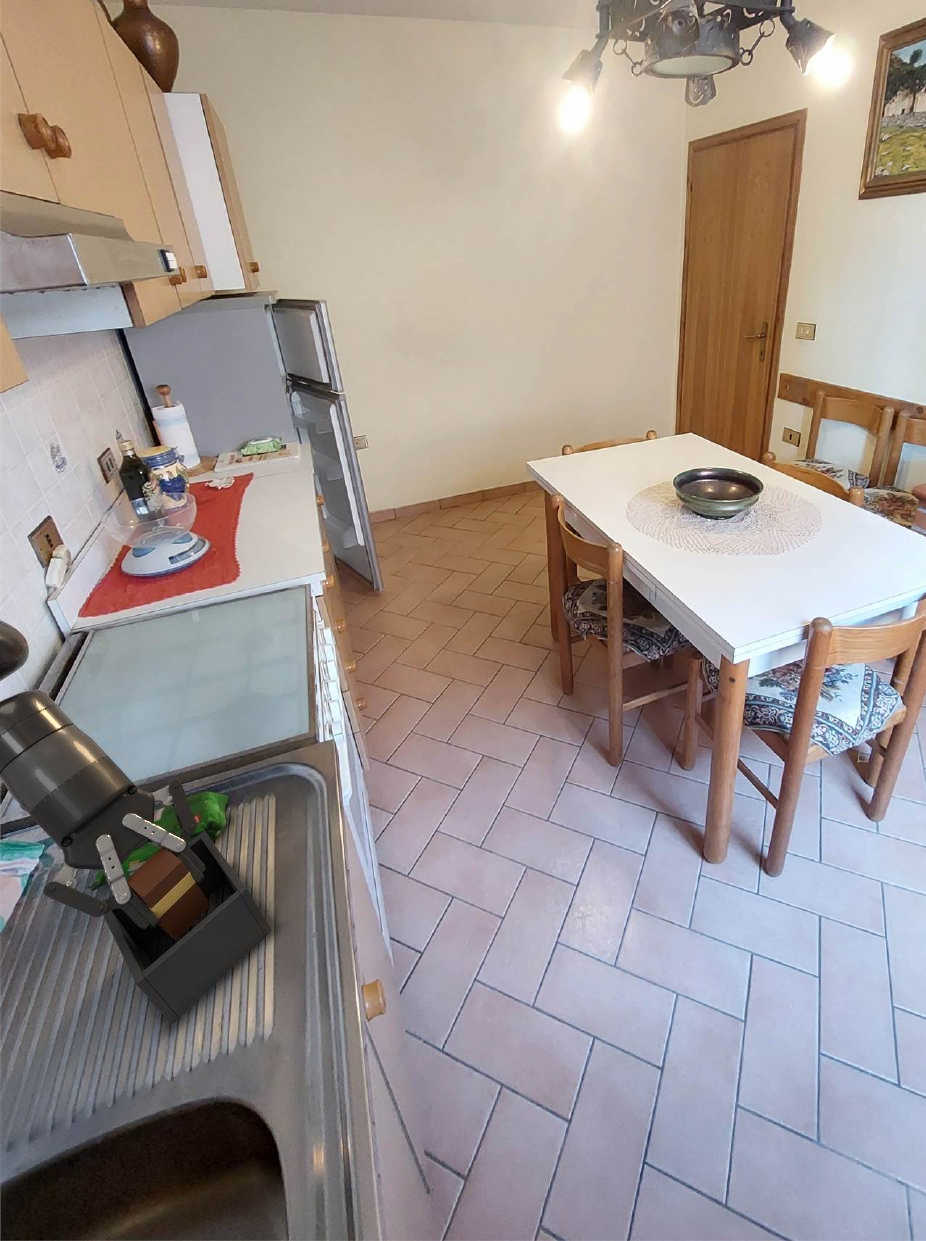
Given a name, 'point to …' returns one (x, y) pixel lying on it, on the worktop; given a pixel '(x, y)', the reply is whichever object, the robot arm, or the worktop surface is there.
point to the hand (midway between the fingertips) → (179, 901)
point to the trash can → (193, 940)
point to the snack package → (177, 829)
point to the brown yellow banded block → (169, 892)
